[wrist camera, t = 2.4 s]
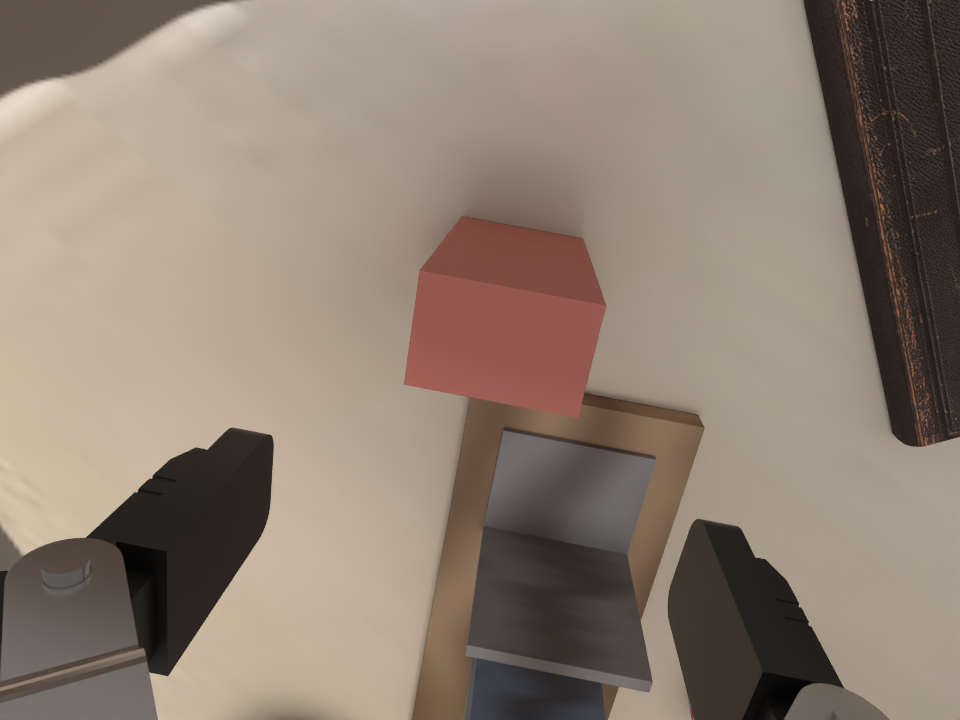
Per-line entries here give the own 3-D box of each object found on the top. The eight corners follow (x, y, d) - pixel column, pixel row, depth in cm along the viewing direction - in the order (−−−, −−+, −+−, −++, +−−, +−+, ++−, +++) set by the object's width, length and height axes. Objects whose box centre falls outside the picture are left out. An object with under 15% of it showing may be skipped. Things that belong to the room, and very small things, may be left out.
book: (583, 238, 32) (606, 305, 20) (565, 315, 33) (578, 417, 22) (462, 216, 32) (419, 270, 21) (450, 294, 33) (404, 384, 22)
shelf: (697, 415, 34) (765, 542, 24) (586, 756, 44) (601, 953, 33) (475, 372, 35) (448, 481, 24) (412, 721, 44) (373, 905, 34)
